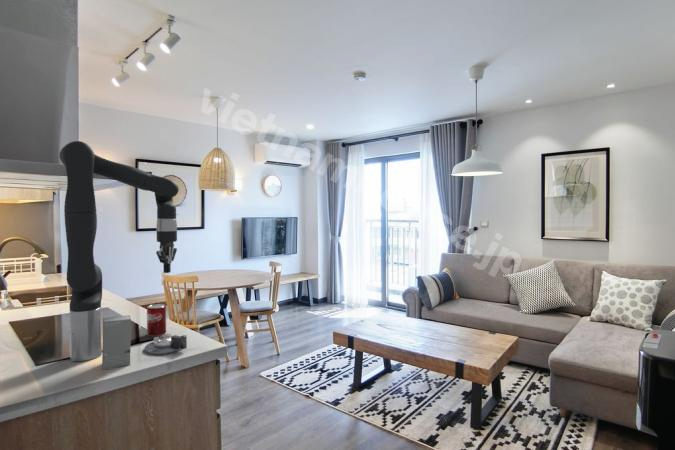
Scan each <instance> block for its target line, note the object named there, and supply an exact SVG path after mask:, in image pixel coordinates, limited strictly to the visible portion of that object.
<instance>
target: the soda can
mask: <svg viewBox="0 0 675 450" xmlns="http://www.w3.org/2000/svg"><path fill="white" fill-rule="evenodd" d="M146 334H147V336H148V337H150V336H151V338H152V337H153V338H155V337H156V336H157V337H161V336H163V335H164V334H167V306H166V304H163V303H157V304H150V305H148V306H147V307H146Z"/></svg>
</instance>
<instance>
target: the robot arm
mask: <svg viewBox="0 0 675 450" xmlns="http://www.w3.org/2000/svg"><path fill="white" fill-rule="evenodd" d="M93 150H94V149H92V147H91V146H90V145H89V144H87V142H83V141H79V140H74V141H70V142H68V143H67V144H66V145H64V146H63V147H62V148H61V149H60V152H59V160H60V162H61V163H62V164H63V165H64V166H65V171H66V172H65V173H66V180H67V183H66V184H67V185H66V186H67V187H66V191H65V198H64V206H63V207H64V209H63V210H64V211H63V213H64V215H63V216H64V227H65V235H66V236H65V237H66V245H67V267H66V282H67V285H68V287H69V288H71V297H70V302H69V330H68V333H69V335H68V336H69V358H70V361H71V363H74V362H85V361H89V360H90V361H91V360H93V359H96V358H99V357H100V356H102V342H103V337H102V299H103V272H102V270H101V267H100V266H99V265H97V264H96V263H95V257H94V246H95V245H94V244H95V240H96V236H97V235H96V234H97V230H98V219H97V218H98V216H97V215H98V214H97V205H96V196H95V188H94V187H95V186H94V175H95V174H96V175H99V176H102V177H105V178H107V179H108V178H109V179H111V180H114V181H116V182H119V183H122V184H126V185H127V186H130V187H132V188H136V189H138V190H141V191H149V192H152V193H154V199H155V203H156V216H157V217H156V218H157V219H156V242H158V243H159V250H156V252H155V253H156V256H157V259H158V260H159V263H162V264H163V274H170V273H172V272H171V269H172V268H171V265H172V262H174V260H175V257H176V254H177V251H178V248H175V245H174V244H175V243H174V242H177V241H178V223H177V222H178V221H177V206H176V205H175V204H174V198H173V197H176V196H177V195H178V194H179V191H180V190H179V185H178V184H177V183H176V182H175V181H173V180H171V179H169V178H167V177H163V176H158V175H155V174H152V173H150V172H148V171H144V170H142V169H139V168H137V167H134V166H131V165H127V164H124V163H119V162H116V161H113V160H109V159H106V158H104V157H102V156H99V155H97V154H95V152H94V151H93Z"/></svg>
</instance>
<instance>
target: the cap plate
mask: <svg viewBox="0 0 675 450" xmlns="http://www.w3.org/2000/svg"><path fill="white" fill-rule="evenodd" d="M182 350H183V349H181V348H177V347H169V348H163V349H159V348H155V347H154V341H152V342H149V343H147V344H146V345H145V346H144V353H145V354H147V355H149V356H163V355H170V354H174V353H178V352H180V351H182Z"/></svg>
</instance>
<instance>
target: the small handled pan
mask: <svg viewBox="0 0 675 450" xmlns="http://www.w3.org/2000/svg"><path fill="white" fill-rule="evenodd" d="M187 340H188V337H187V335H186V334H184V335H177V334H174V335H171V333H165V334H164V335H162V336H157V337H153V342H154V347H155V348H159V349H163V348H169V347H177V348H181V349H182V350H186V349H188V348H187V346H188V345H187V344H188V343H187Z"/></svg>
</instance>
